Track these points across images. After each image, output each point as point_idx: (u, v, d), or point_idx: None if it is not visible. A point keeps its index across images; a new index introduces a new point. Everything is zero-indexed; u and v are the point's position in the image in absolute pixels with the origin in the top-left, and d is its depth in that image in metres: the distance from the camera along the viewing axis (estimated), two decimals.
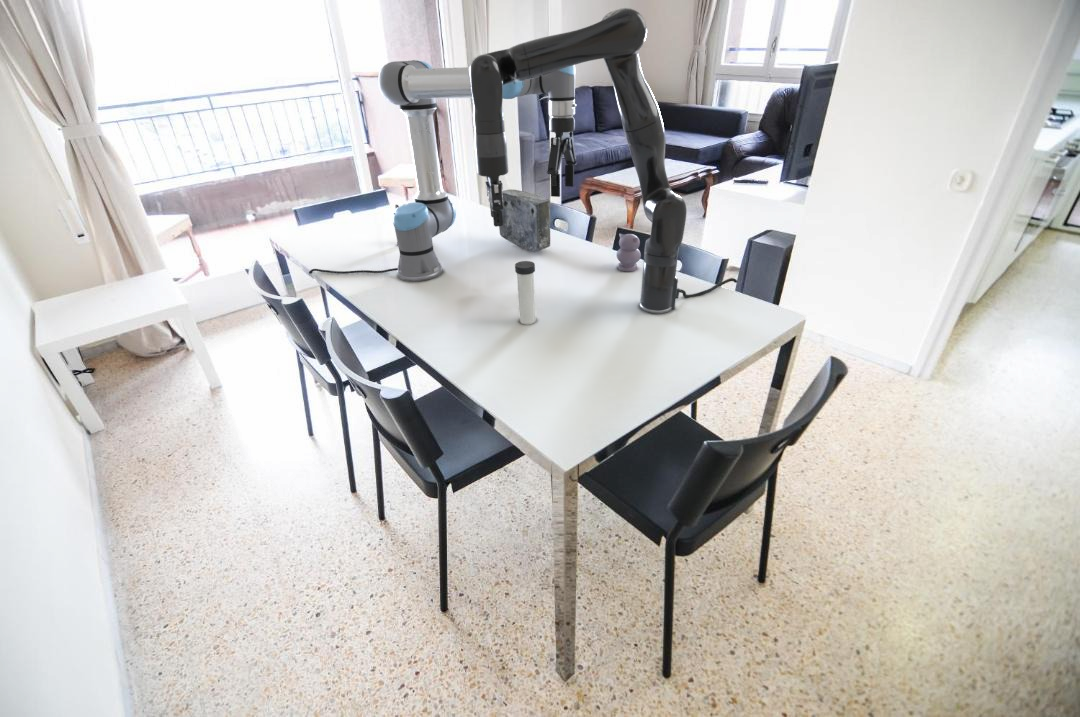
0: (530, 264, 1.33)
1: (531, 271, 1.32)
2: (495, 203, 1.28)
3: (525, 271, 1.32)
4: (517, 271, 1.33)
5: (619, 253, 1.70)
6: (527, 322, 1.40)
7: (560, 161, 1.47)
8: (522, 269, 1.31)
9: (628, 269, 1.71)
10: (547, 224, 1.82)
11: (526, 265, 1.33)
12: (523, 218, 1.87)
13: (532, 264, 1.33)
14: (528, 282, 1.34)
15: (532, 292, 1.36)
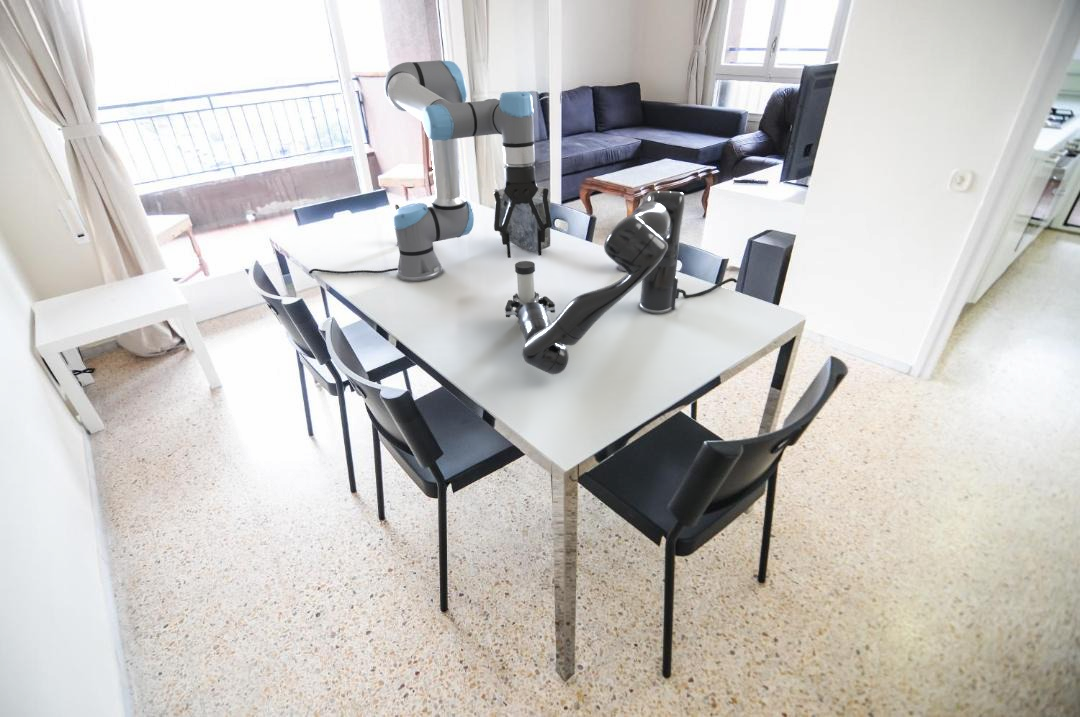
0: (530, 264, 1.33)
1: (531, 271, 1.32)
2: None
3: (525, 271, 1.32)
4: (517, 271, 1.33)
5: None
6: None
7: None
8: (522, 269, 1.31)
9: None
10: None
11: (526, 265, 1.33)
12: (523, 218, 1.87)
13: (532, 264, 1.33)
14: (528, 282, 1.34)
15: (532, 292, 1.36)
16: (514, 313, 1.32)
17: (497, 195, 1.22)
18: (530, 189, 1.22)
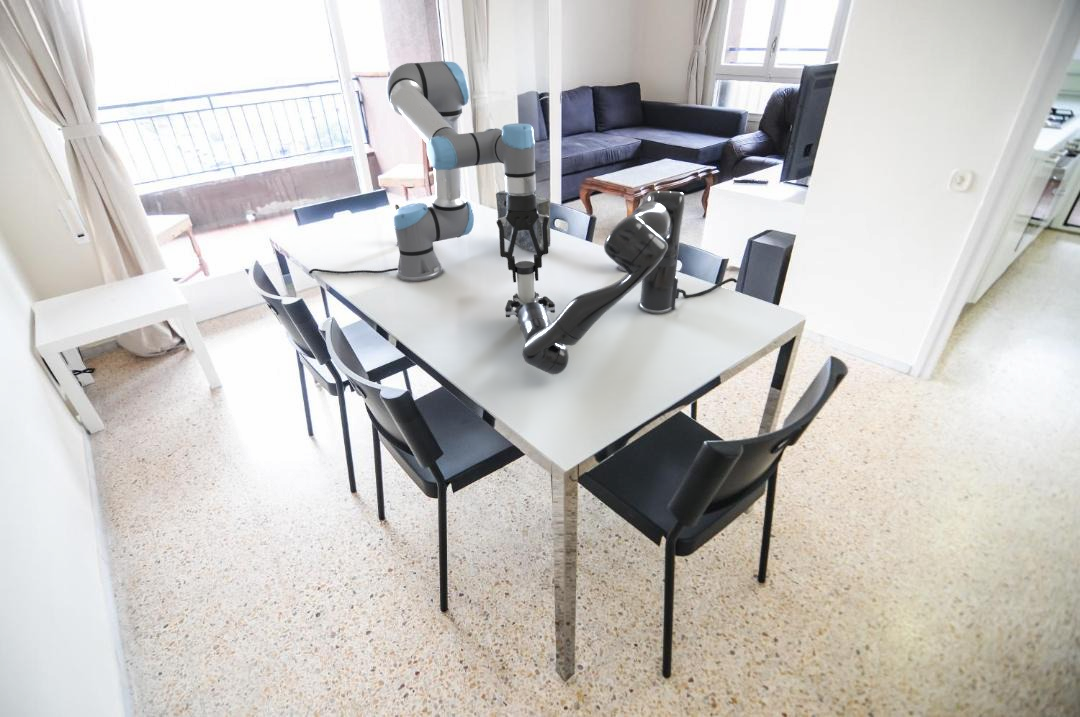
0: (530, 264, 1.33)
1: (531, 271, 1.32)
2: None
3: (525, 271, 1.32)
4: (517, 271, 1.33)
5: None
6: None
7: None
8: (522, 269, 1.31)
9: None
10: (547, 224, 1.82)
11: (526, 265, 1.33)
12: None
13: (532, 264, 1.33)
14: (528, 282, 1.34)
15: (532, 292, 1.36)
16: (514, 313, 1.32)
17: (500, 223, 1.26)
18: (531, 216, 1.26)
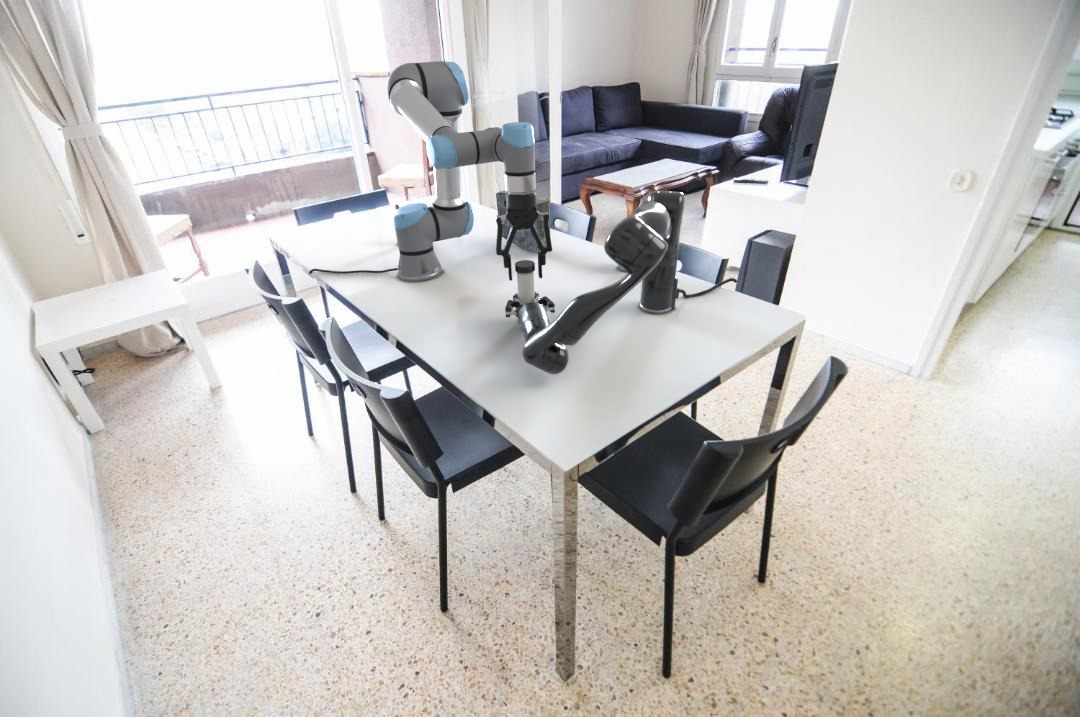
0: (525, 261, 1.35)
1: None
2: None
3: (534, 266, 1.34)
4: (530, 270, 1.32)
5: None
6: None
7: None
8: (533, 265, 1.33)
9: None
10: None
11: (527, 262, 1.34)
12: None
13: (526, 260, 1.35)
14: (528, 282, 1.34)
15: (532, 292, 1.36)
16: (514, 313, 1.32)
17: (499, 221, 1.25)
18: (531, 215, 1.26)
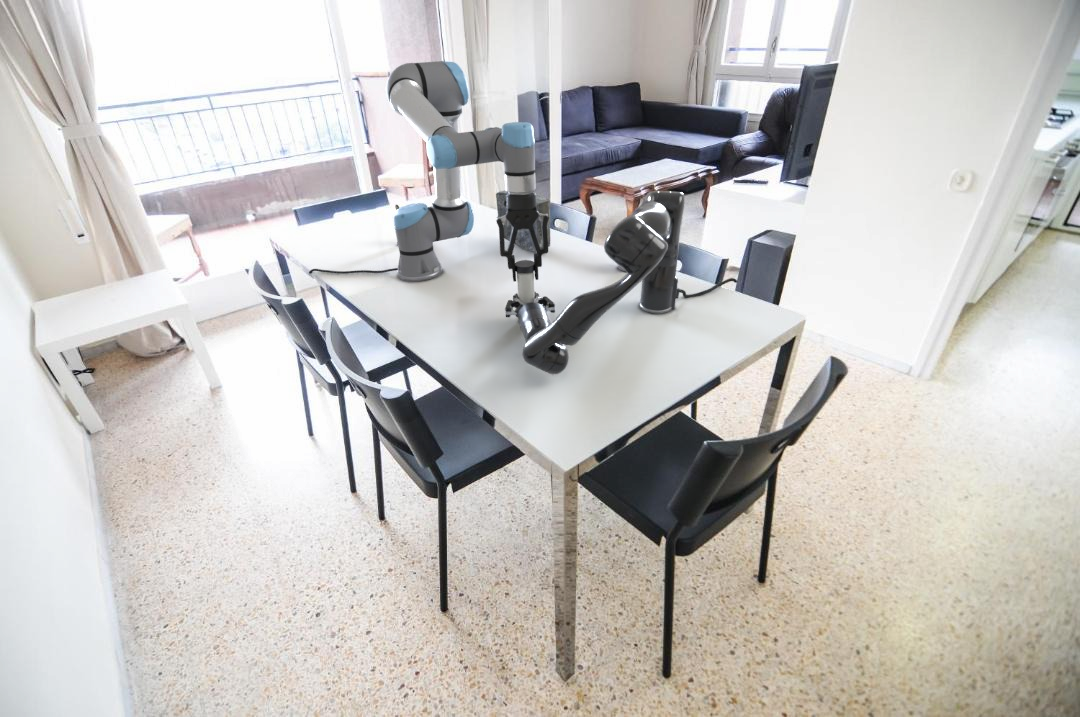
0: (525, 261, 1.35)
1: None
2: None
3: (534, 266, 1.34)
4: (530, 270, 1.32)
5: None
6: None
7: None
8: (533, 265, 1.33)
9: None
10: (547, 224, 1.82)
11: (527, 262, 1.34)
12: None
13: (526, 260, 1.35)
14: (528, 282, 1.34)
15: (532, 292, 1.36)
16: (514, 313, 1.32)
17: (500, 222, 1.26)
18: (531, 215, 1.26)
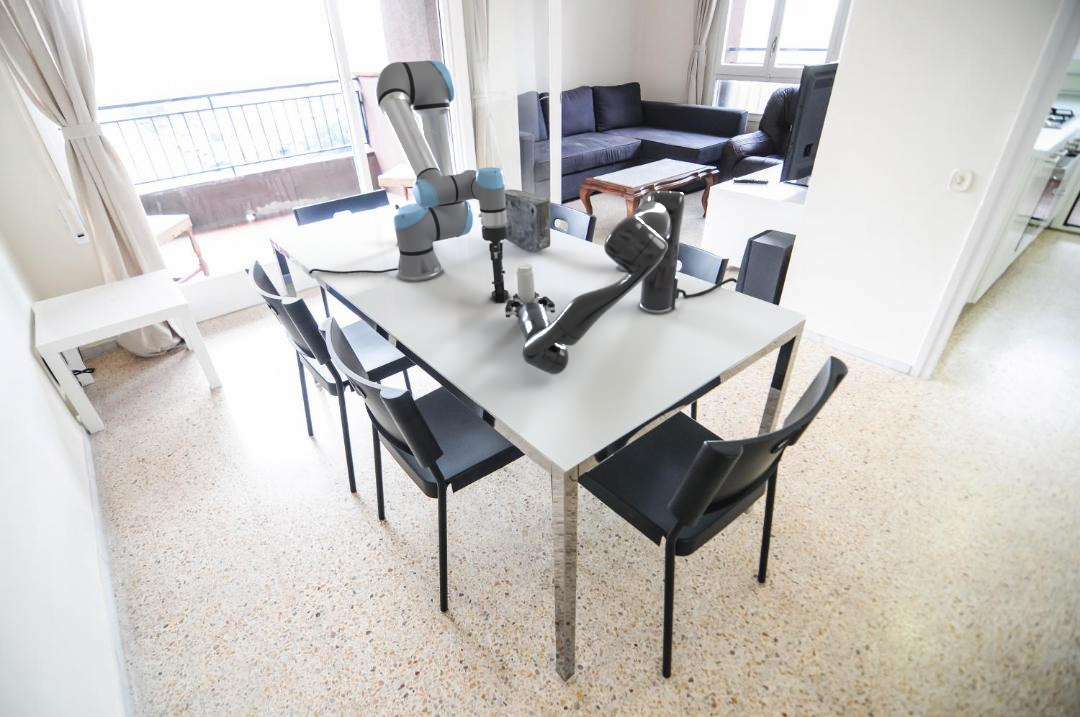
0: None
1: None
2: None
3: None
4: None
5: None
6: None
7: None
8: None
9: None
10: (547, 224, 1.82)
11: None
12: (523, 218, 1.87)
13: (493, 292, 1.56)
14: (528, 282, 1.34)
15: (532, 292, 1.36)
16: (514, 313, 1.32)
17: None
18: None
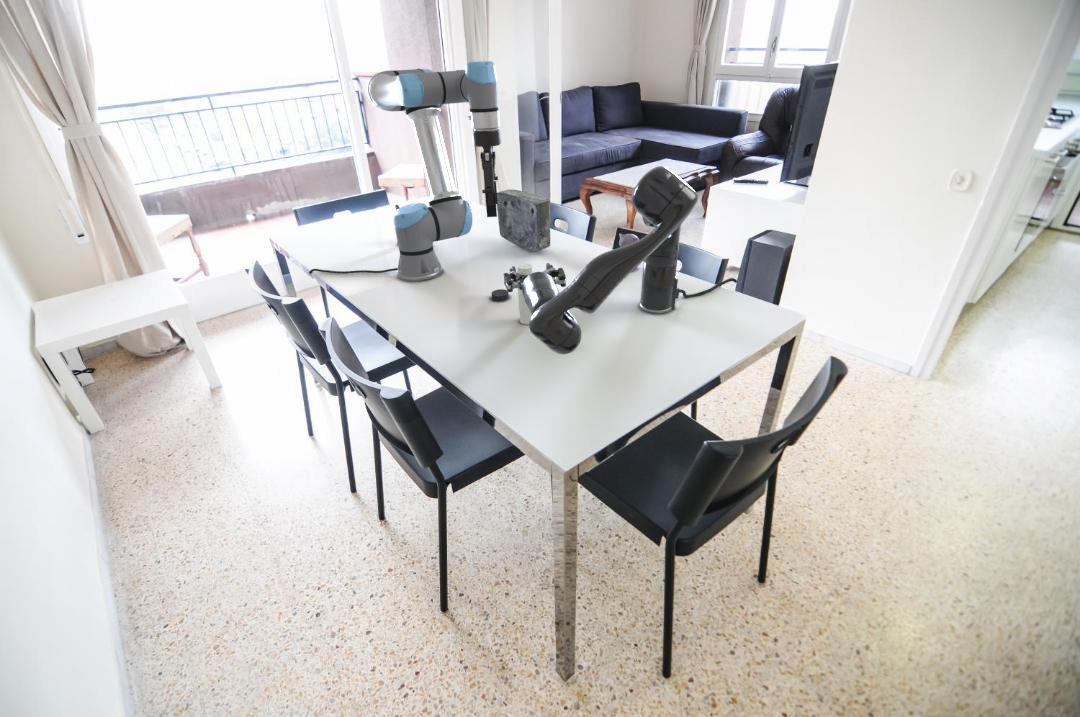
0: (495, 292, 1.56)
1: None
2: None
3: None
4: None
5: None
6: (527, 322, 1.40)
7: None
8: None
9: None
10: (547, 224, 1.82)
11: (499, 291, 1.56)
12: (523, 218, 1.87)
13: (493, 292, 1.56)
14: None
15: None
16: (518, 286, 1.13)
17: (491, 156, 1.29)
18: None
